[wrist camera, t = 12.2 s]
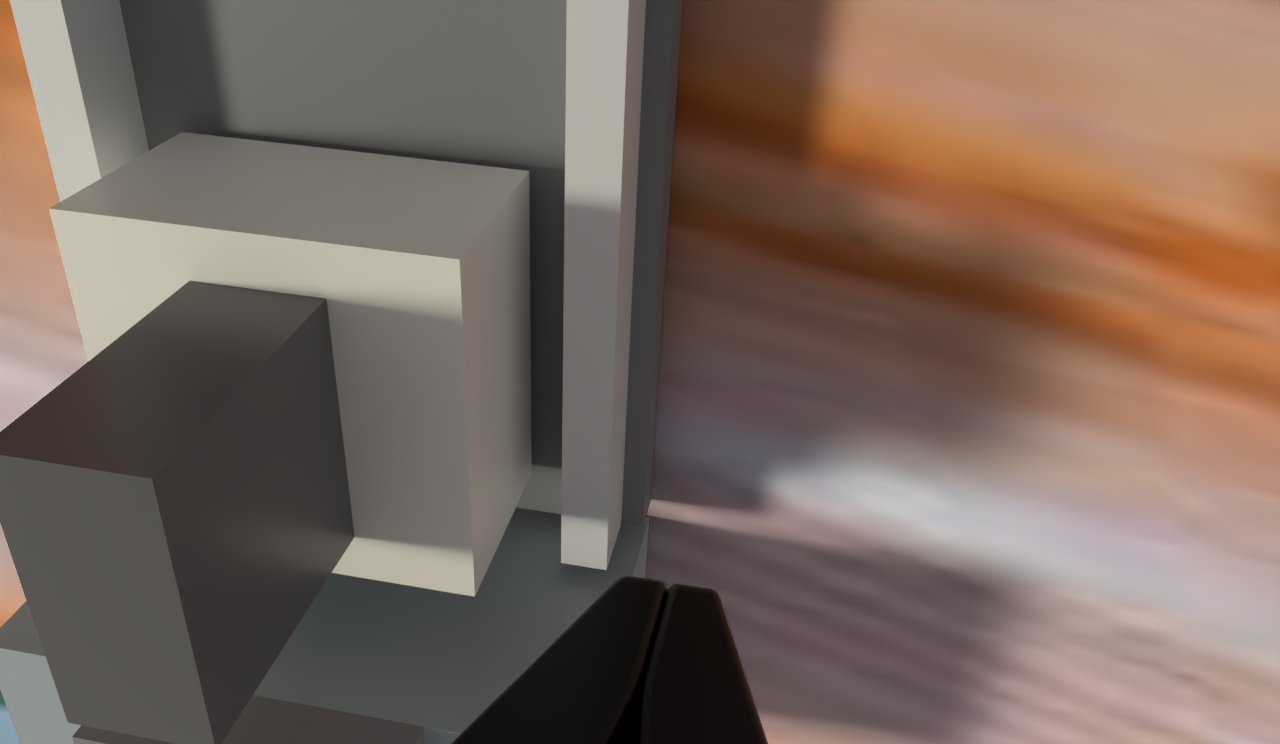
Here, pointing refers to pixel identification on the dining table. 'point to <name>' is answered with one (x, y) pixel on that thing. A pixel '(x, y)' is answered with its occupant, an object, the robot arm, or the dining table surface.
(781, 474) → the dining table surface
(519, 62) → the rail track
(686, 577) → the dining table surface
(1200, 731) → the dining table surface
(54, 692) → the cabinet
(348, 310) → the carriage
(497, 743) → the robot arm
